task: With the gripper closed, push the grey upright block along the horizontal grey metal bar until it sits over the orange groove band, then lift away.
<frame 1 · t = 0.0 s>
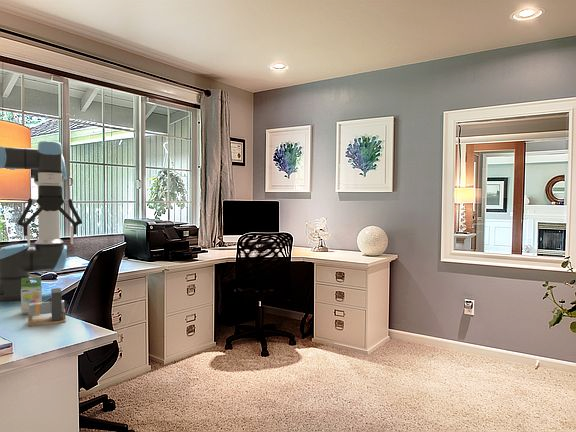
hand: (50, 244, 155), 28 cm above the table, fingers open, 13 cm apart
grey upright block: (56, 303, 158), point 6 cm above the table, slide at 0.0 cm
pipe: (47, 307, 157), on the board, point 5 cm above the table
ink box: (31, 313, 168), on the table
board: (47, 321, 157), on the table
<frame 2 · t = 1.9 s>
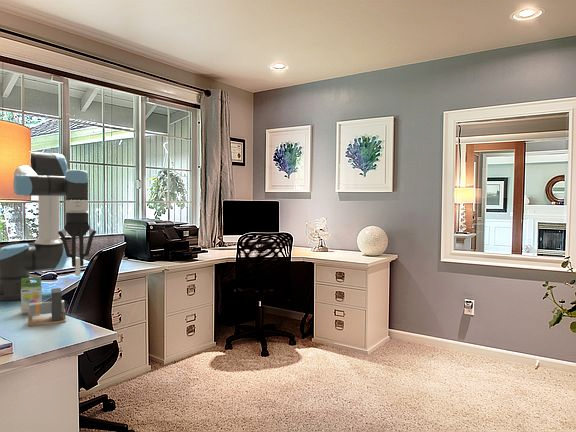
hand: (77, 275, 161), 16 cm above the table, fingers closed
nothing on the table moved.
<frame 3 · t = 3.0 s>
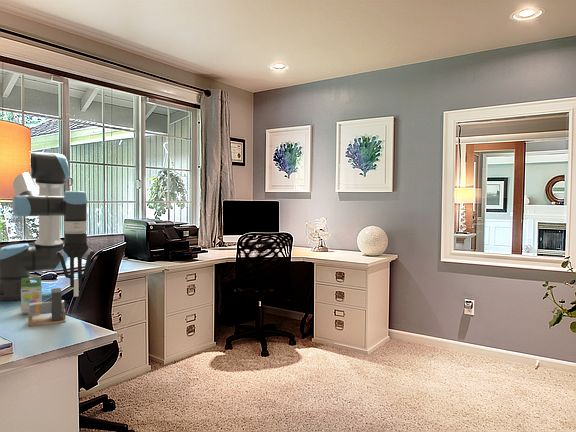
hand: (76, 295, 161), 8 cm above the table, fingers closed
nothing on the table moved.
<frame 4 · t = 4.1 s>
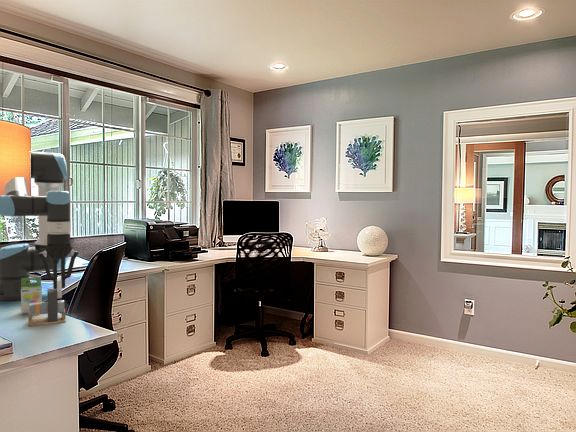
hand: (59, 297, 158), 8 cm above the table, fingers closed
grey upright block: (52, 304, 157), point 6 cm above the table, slide at 1.3 cm, touching gripper
everything else where it was.
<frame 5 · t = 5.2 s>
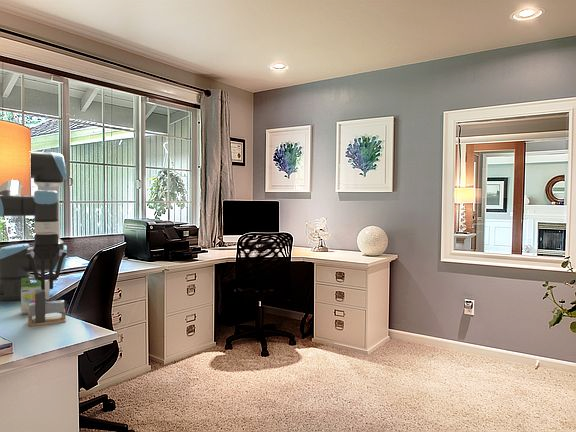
hand: (47, 298, 156), 8 cm above the table, fingers closed
grey upright block: (40, 305, 155), point 6 cm above the table, slide at 5.2 cm, touching gripper
everything else where it was.
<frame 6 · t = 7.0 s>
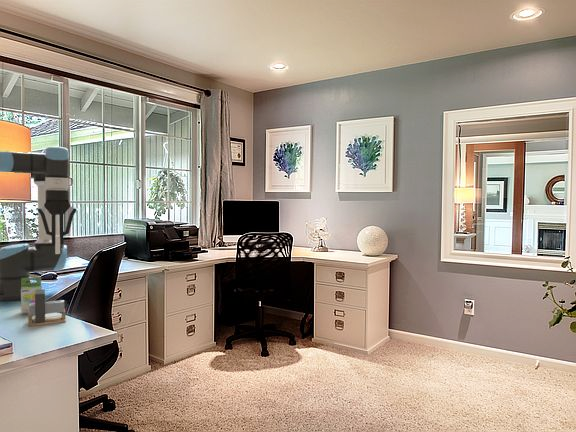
hand: (57, 253, 160), 24 cm above the table, fingers closed
grey upright block: (40, 305, 155), point 6 cm above the table, slide at 5.2 cm
everything else where it was.
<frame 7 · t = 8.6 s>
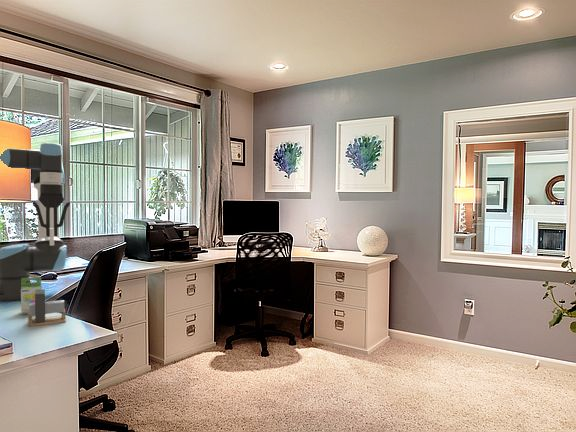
hand: (51, 245, 167), 26 cm above the table, fingers closed
nothing on the table moved.
at the end: grey upright block slide at 5.2 cm; the gripper is holding nothing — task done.
